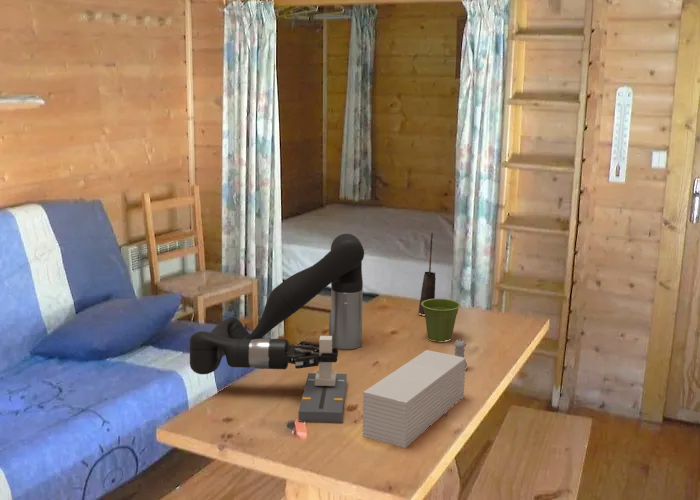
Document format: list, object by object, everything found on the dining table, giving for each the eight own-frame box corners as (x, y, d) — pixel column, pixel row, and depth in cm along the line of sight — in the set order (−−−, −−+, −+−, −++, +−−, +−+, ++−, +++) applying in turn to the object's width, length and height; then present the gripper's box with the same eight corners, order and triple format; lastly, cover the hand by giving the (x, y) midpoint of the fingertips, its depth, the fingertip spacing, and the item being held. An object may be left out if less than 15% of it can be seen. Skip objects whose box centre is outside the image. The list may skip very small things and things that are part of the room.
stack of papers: (425, 389, 198) (426, 349, 196) (463, 398, 193) (465, 357, 190) (362, 437, 171) (363, 391, 169) (405, 449, 166) (406, 402, 164)
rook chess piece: (468, 367, 213) (469, 339, 211) (465, 372, 209) (466, 344, 207) (452, 365, 214) (453, 337, 213) (449, 370, 210) (450, 342, 209)
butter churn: (433, 321, 253) (436, 238, 247) (407, 316, 258) (409, 234, 252) (444, 314, 261) (447, 233, 255) (419, 310, 266) (421, 230, 260)
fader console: (308, 381, 202) (308, 371, 201) (346, 382, 201) (346, 372, 201) (298, 421, 178) (298, 410, 178) (341, 422, 178) (341, 411, 177)
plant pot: (412, 339, 236) (413, 303, 233) (435, 330, 244) (436, 296, 242) (443, 348, 228) (445, 312, 225) (466, 339, 236) (468, 303, 234)
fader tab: (316, 376, 197) (316, 333, 195) (336, 376, 197) (336, 334, 195) (314, 385, 191) (314, 341, 189) (334, 386, 191) (335, 342, 189)
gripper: (272, 358, 201) (338, 359, 200) (265, 378, 187) (335, 379, 187) (272, 330, 199) (339, 331, 199) (264, 349, 186) (335, 350, 185)
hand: (337, 355), depth 193 cm, fingers closed on fader tab, 3 cm apart
